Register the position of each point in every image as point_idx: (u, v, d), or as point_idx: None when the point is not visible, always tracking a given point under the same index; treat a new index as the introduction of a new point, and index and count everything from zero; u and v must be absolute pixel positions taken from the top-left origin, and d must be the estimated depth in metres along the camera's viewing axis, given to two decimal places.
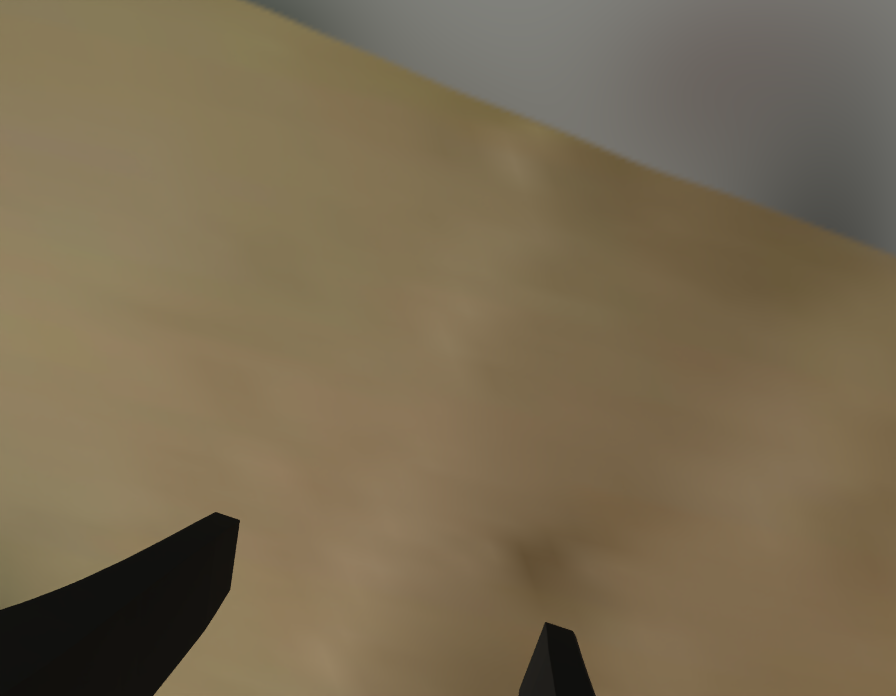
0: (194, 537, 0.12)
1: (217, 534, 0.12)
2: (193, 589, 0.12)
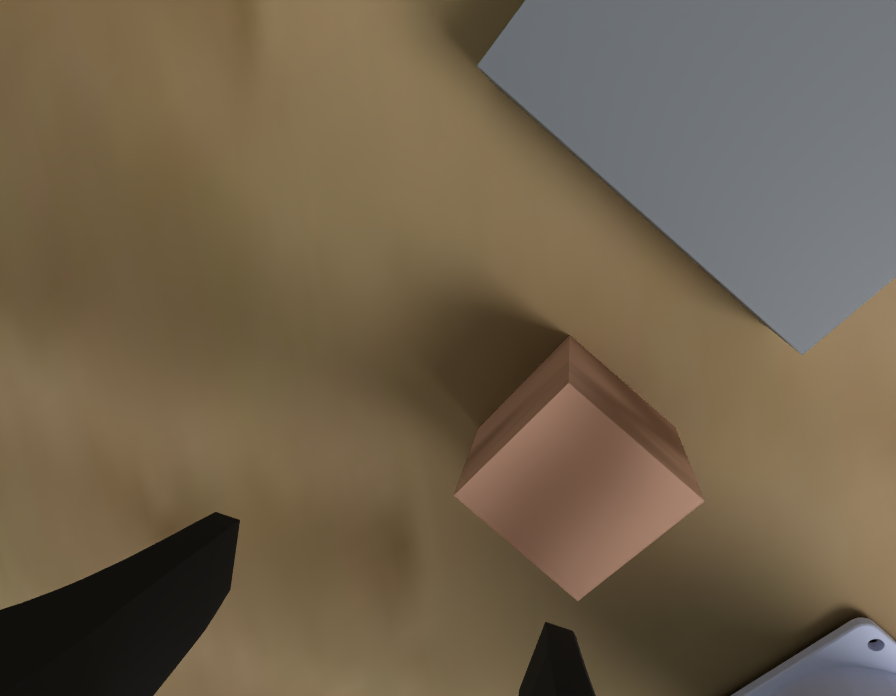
0: (194, 537, 0.12)
1: (217, 534, 0.12)
2: (193, 589, 0.12)
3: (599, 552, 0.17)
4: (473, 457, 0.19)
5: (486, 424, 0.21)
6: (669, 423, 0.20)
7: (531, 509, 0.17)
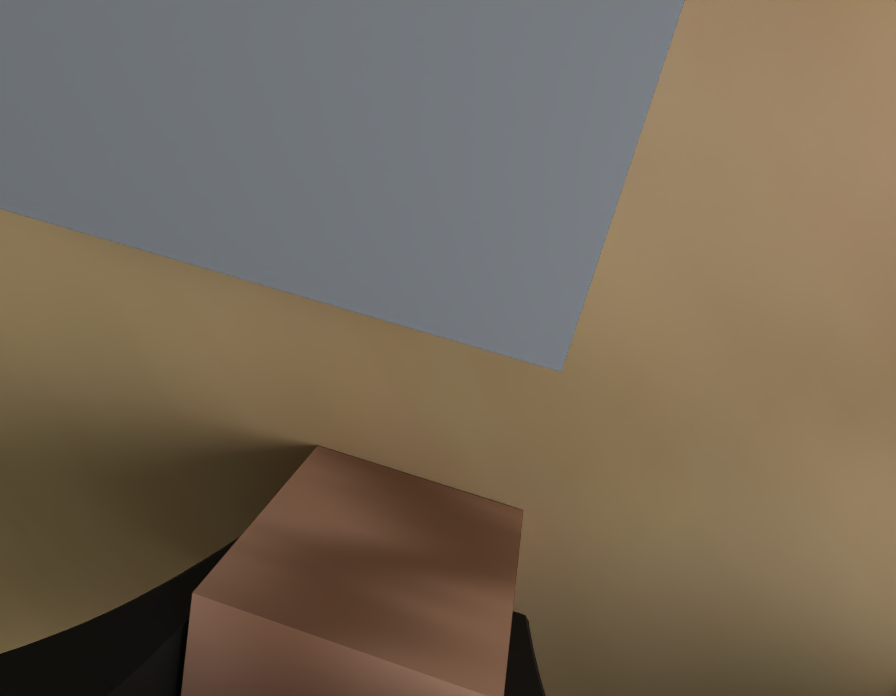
0: None
1: None
2: None
3: None
4: None
5: None
6: (508, 512, 0.13)
7: None
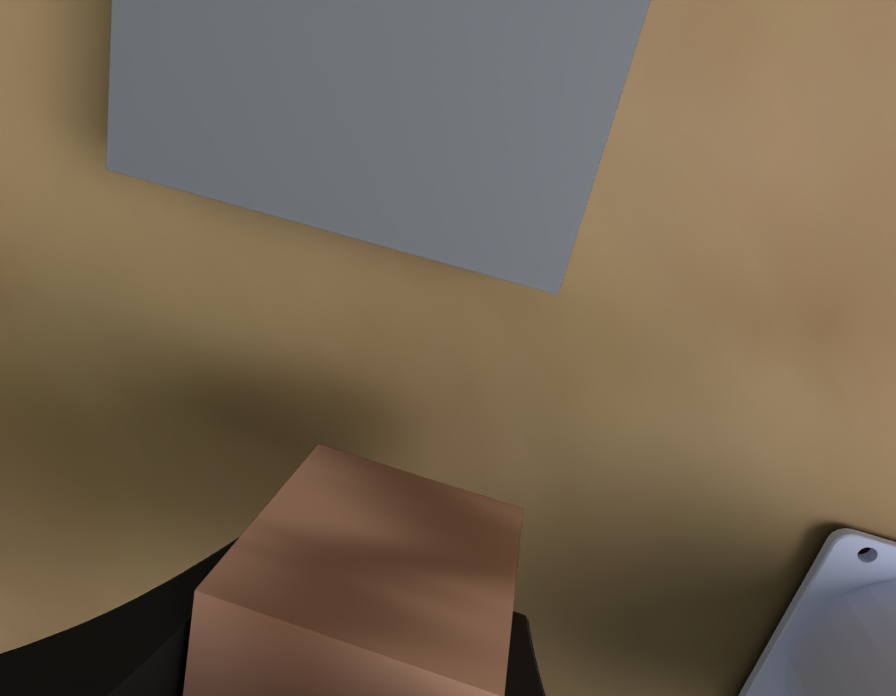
0: None
1: None
2: None
3: None
4: None
5: None
6: (508, 510, 0.13)
7: None
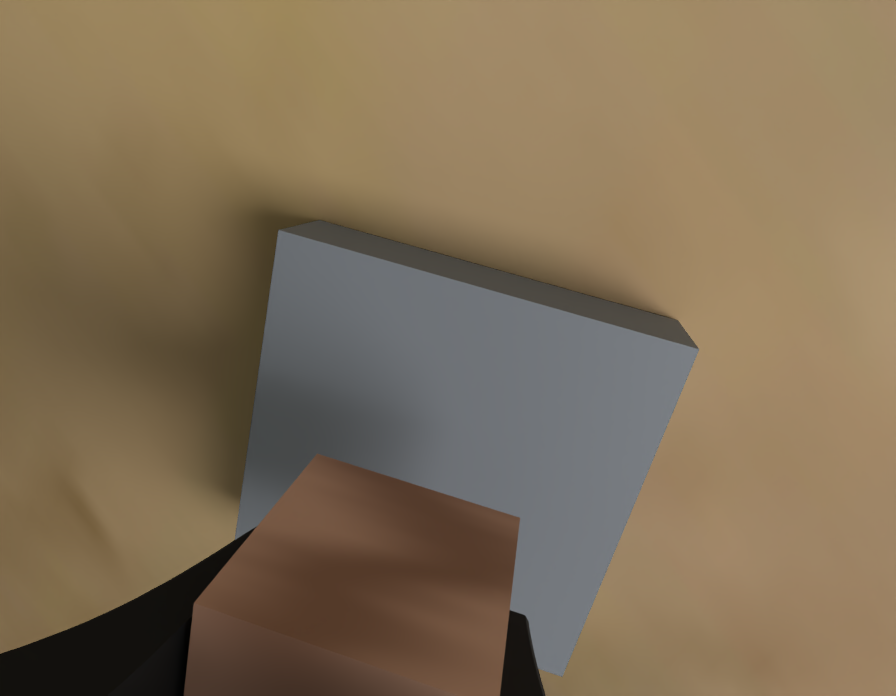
0: None
1: None
2: None
3: None
4: None
5: None
6: (505, 519, 0.13)
7: None
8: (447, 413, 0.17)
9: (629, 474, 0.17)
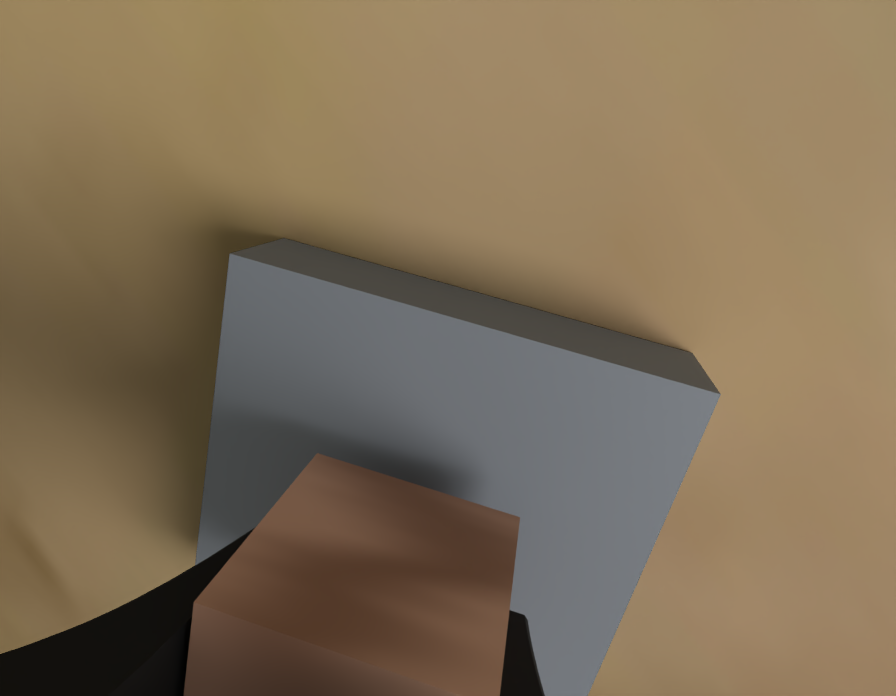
0: None
1: None
2: None
3: None
4: None
5: None
6: (505, 519, 0.13)
7: None
8: (427, 464, 0.15)
9: (638, 535, 0.15)
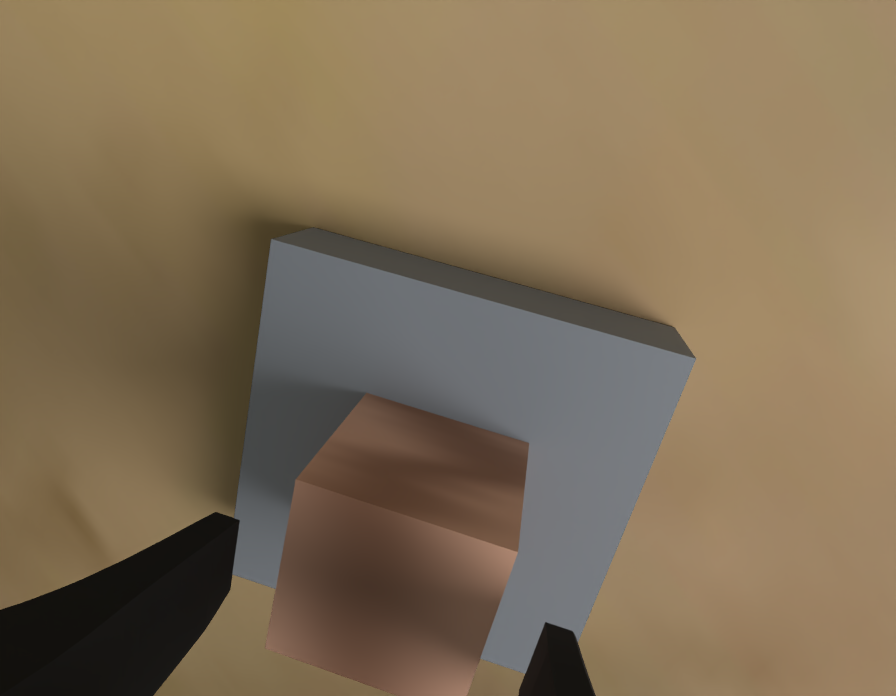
0: (194, 537, 0.12)
1: (217, 534, 0.12)
2: (193, 589, 0.12)
3: (446, 654, 0.13)
4: None
5: None
6: (518, 443, 0.17)
7: (347, 633, 0.14)
8: None
9: (626, 483, 0.17)
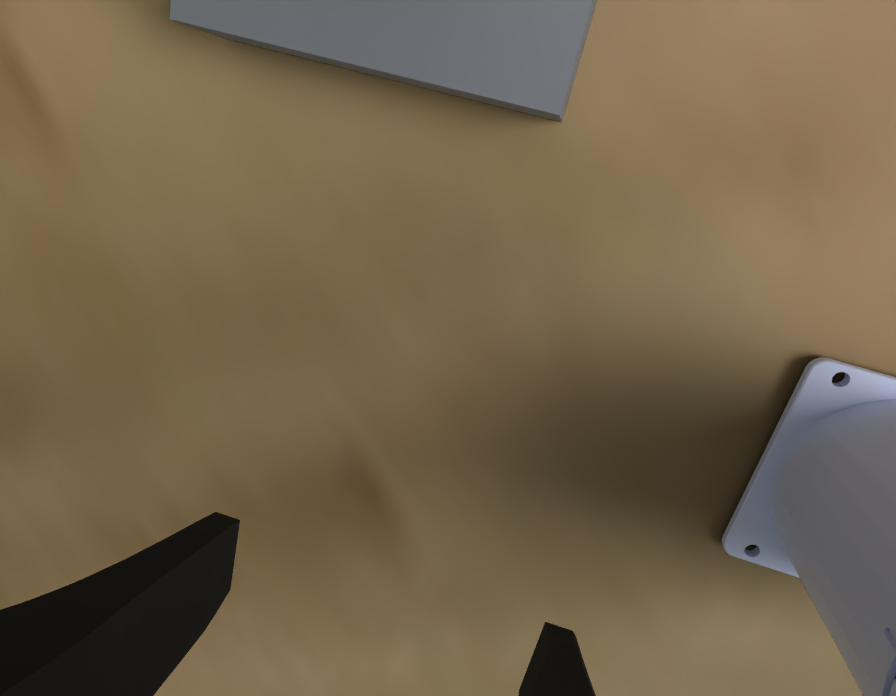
0: (194, 537, 0.12)
1: (217, 534, 0.12)
2: (193, 589, 0.12)
3: None
4: None
5: None
6: None
7: None
8: None
9: None
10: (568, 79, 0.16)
